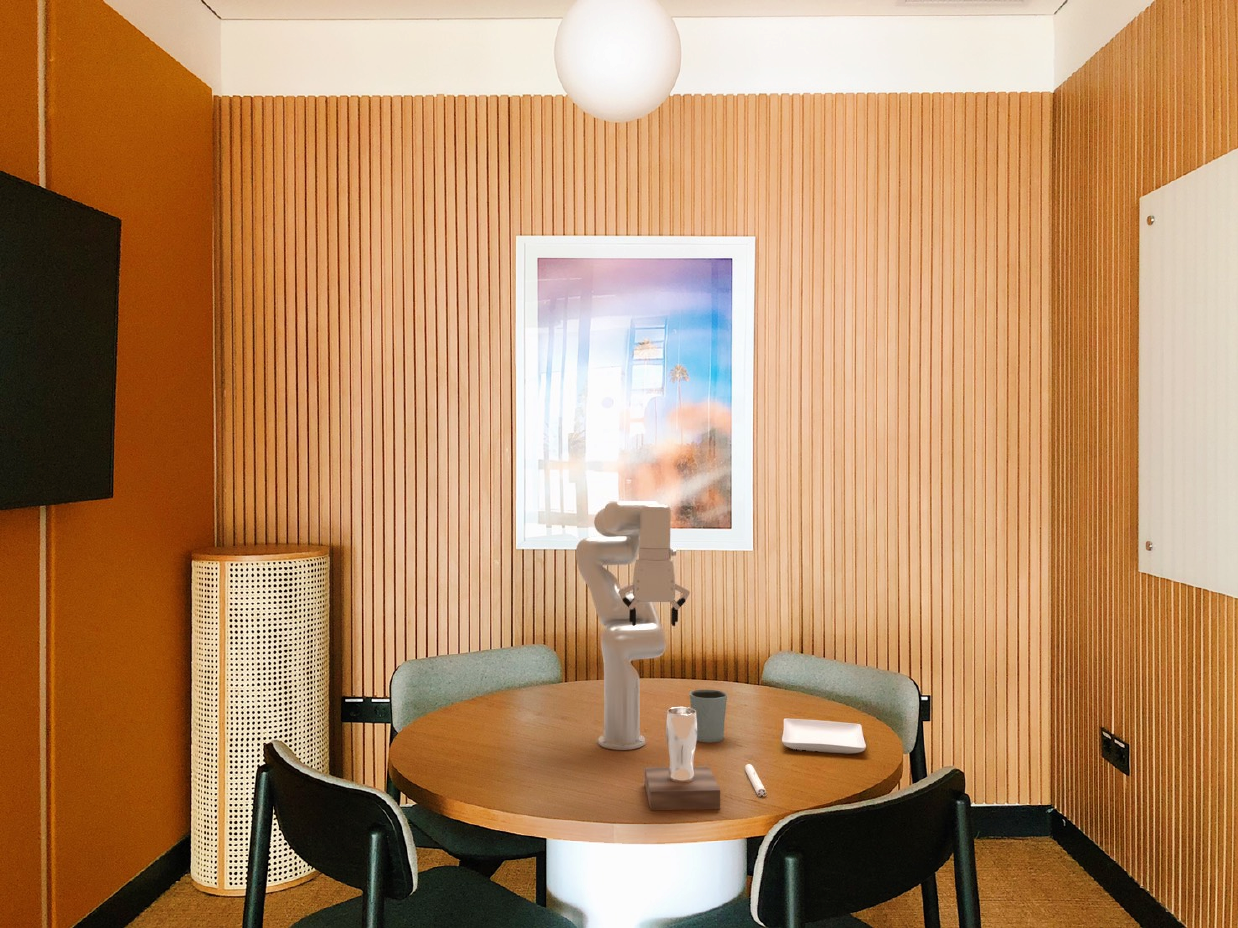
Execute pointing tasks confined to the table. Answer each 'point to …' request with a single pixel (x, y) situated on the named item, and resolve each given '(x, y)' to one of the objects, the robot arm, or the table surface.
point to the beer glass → (681, 743)
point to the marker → (755, 780)
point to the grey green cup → (709, 714)
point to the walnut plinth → (681, 790)
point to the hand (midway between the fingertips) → (653, 624)
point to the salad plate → (823, 736)
